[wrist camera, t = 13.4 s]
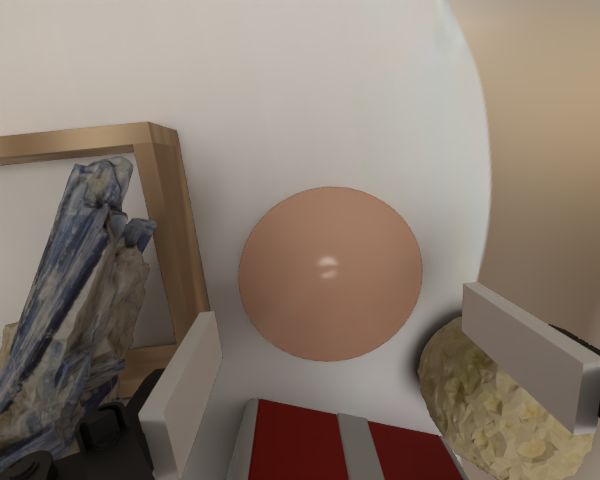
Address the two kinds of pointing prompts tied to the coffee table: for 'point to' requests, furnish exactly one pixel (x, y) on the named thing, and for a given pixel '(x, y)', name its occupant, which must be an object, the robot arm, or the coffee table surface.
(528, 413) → the decorative object
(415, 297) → the peach round smooth part
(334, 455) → the red striped box
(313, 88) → the coffee table surface
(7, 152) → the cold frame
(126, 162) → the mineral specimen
